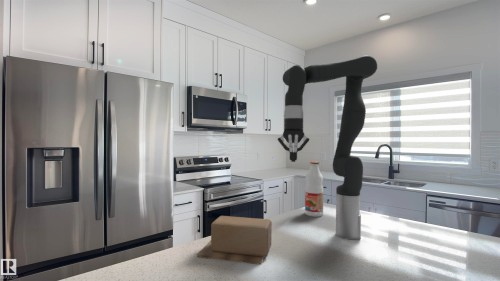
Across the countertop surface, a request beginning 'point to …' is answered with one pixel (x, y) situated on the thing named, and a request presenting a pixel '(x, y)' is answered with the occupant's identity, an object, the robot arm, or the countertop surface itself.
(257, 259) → the cutting board
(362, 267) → the countertop surface
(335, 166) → the robot arm
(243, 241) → the block
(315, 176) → the fruit juice
